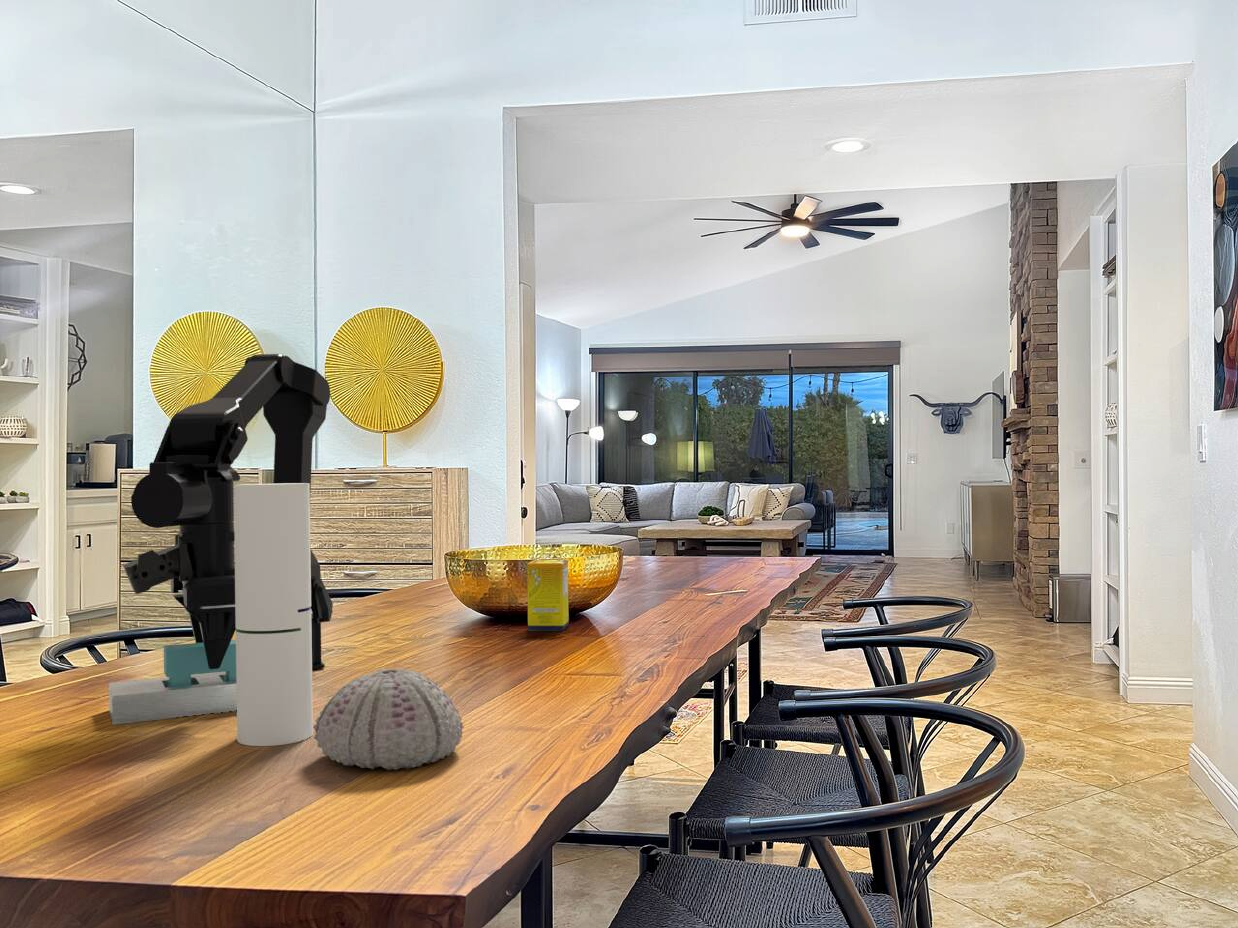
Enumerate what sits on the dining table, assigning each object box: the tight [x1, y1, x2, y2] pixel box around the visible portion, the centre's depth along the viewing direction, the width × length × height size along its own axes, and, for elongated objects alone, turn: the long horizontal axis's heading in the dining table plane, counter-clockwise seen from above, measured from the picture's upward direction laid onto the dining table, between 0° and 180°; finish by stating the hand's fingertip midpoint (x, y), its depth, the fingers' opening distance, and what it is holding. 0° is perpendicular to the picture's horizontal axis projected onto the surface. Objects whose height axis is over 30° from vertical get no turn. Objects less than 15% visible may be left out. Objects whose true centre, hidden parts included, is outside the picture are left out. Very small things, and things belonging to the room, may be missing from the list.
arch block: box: [163, 639, 236, 687], centre depth 120 cm, size 9×3×7 cm, turn 118°
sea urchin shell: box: [313, 668, 465, 771], centre depth 98 cm, size 13×14×8 cm
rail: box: [108, 672, 237, 726], centre depth 120 cm, size 20×8×3 cm, turn 118°
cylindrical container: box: [233, 483, 314, 747], centre depth 106 cm, size 7×7×25 cm
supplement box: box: [526, 559, 570, 632], centre depth 176 cm, size 6×6×11 cm
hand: (208, 662), depth 120 cm, fingers open, 9 cm apart
